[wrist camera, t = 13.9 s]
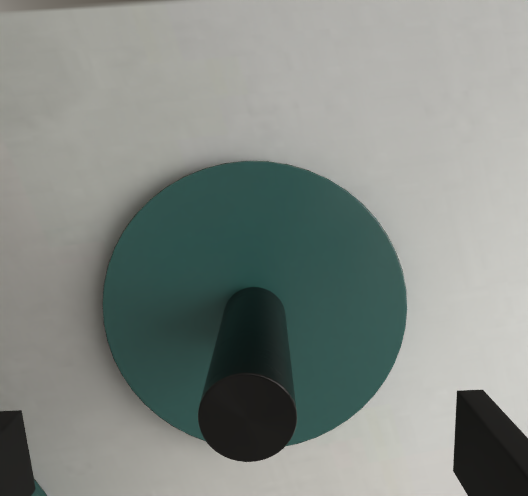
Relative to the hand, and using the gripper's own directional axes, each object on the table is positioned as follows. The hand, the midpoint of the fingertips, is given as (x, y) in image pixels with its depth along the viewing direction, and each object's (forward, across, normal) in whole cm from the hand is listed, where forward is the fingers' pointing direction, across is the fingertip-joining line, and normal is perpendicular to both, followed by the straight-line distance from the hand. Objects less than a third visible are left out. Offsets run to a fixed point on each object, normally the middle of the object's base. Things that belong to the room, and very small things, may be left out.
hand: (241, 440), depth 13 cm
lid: (+10, 0, 0) cm, 11 cm away
